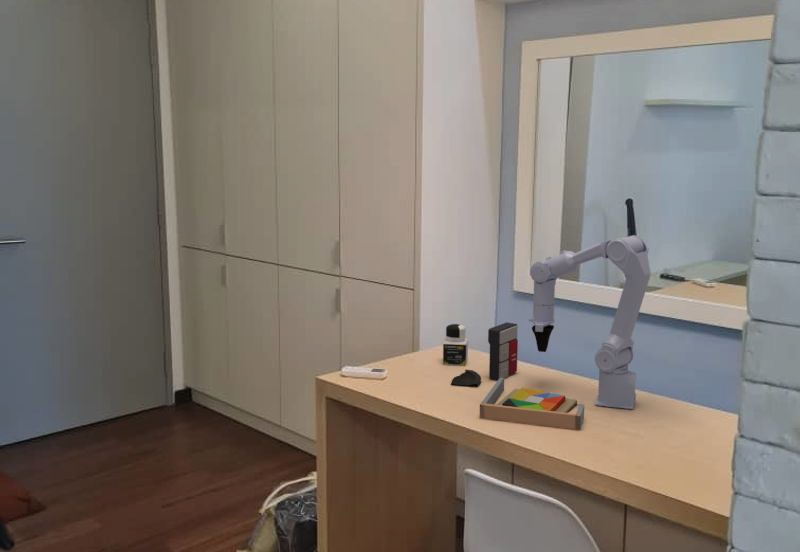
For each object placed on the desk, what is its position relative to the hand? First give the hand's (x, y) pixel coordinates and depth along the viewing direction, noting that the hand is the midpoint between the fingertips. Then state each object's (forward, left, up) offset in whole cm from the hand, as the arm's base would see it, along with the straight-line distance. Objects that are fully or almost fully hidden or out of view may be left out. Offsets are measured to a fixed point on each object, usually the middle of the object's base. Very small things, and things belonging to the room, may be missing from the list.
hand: (542, 351), depth 209 cm
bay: (-2, +20, -10) cm, 22 cm away
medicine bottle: (+29, -14, -10) cm, 34 cm away
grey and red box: (+12, -5, -10) cm, 16 cm away
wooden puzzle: (-1, +20, -11) cm, 22 cm away
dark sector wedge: (+20, +3, -11) cm, 23 cm away
